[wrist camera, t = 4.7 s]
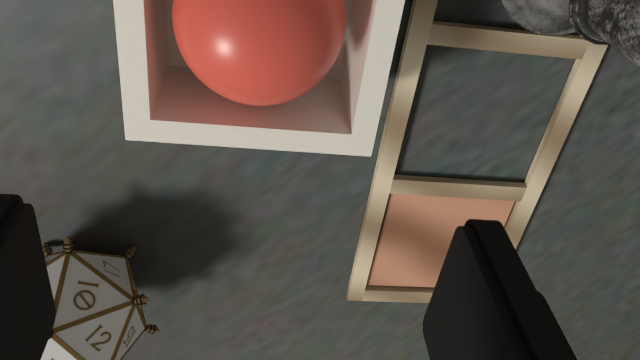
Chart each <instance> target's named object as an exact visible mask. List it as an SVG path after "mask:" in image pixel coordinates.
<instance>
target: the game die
mask: <svg viewBox="0 0 640 360" xmlns="http://www.w3.org/2000/svg"><path fill="white" fill-rule="evenodd" d="M73 243H74V241H72V240H71V239H70V238H69V237H66V239H65V240H64V241H63V249H64V250H65V251H62V252H57V253H53V254H52V252H53V251H52V249H51V246H50V245H47V244H45V243H44V245H43V253H44V254H45V255H46V257H45V262H46V267H47V271H48V276H49V280H50V285H51V289H52V294H53V299H54V303H55V309H56V315H55V322H54V326H53V329H52V332H51V334H50V337H49V339H48V342H47V344H46V347H45V350H44V352H43V355H42V357H41V360H122V359H123V357H124V356H125V355H126V354H127V352H128V351H129V350H130V348H131V347H132V346H133V345H134V343H135V342H136V341H137V340H138V338H139V337H140V336H141V335H142V333H143V332H144V331H147V332H148V333H152V334H153V333H155V332H157V331H160V330H159V329H158V328H157V327H156V325H151V324H149V325H146V321H145V318H144V314H143V310H142V307H141V305H142V304H146V302H147V300H148V299H149V298H148V297H146V296H145V295H144V294H142V295H138V293H137V289H136V285H135V282H134V278H133V275H132V271H131V267H130V264H129V258H130V257H133V255H134V254H136V253H135V252H136V246H135V247H131V248H128V250H127V251H125V252H126V253H125V255H124V256H121V255H112V254H103V253H95V252H86V251H77V250H72V249H73V247H74V245H73Z"/></svg>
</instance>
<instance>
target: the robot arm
mask: <svg viewBox="0 0 640 360" xmlns="http://www.w3.org/2000/svg"><path fill="white" fill-rule="evenodd" d="M55 315H56V309H55V303H54V299H53V294H52V289H51V285H50V280H49V276H48V271H47V267H46V262H45V257H44V253H43V248H42V244H41V239H40V234H39V230H38V225H37V221H36V216H35V212H34V208H33V206H32V205H31V204H26V203H23V200H22V198H21V197H20V196H19V195H15V194H0V360H41V357H42V355H43V352H44V350H45V347H46V344H47V342H48V339H49V337H50V334H51V332H52V329H53V326H54V322H55ZM423 334H424V339H425V342H426V346H427V350H428V353H429V357H430V360H577V359H576V357H575V355H574V353H573V351H572V349H571V347H570V345H569V343H568V341H567V340H566V338H565V336H564V334H563V332H562V330H561V328H560V326H559V324H558V322H557V320H556V318H555V317H554V315H553V313H552V311H551V309H550V307H549V305H548V303H547V301H546V300H545V298H544V297H543V295H542V294H541V293H539V292H538V291H536V289H535V287H534V285H533V283H532V281H531V279H530V277H529V275H528V273H527V271H526V269H525V267H524V265H523V263H522V261H521V259H520V257H519V256H518V254H517V252H516V250H515V248H514V246H513V244H512V242H511V240H510V238H509V236H508V234H507V232H506V230H505V228H504V226H503V225H502V223H501V222H500V221H498V220H481V219H469V220H467V221H466V223H465V225H464V226H458V227H457V228H456V230H455V232H454V235H453V238H452V240H451V243H450V246H449V249H448V252H447V254H446V257H445V260H444V263H443V266H442V268H441V271H440V274H439V277H438V280H437V282H436V285H435V288H434V291H433V294H432V297H431V299H430V302H429V305H428V308H427V311H426V313H425V316H424V320H423Z"/></svg>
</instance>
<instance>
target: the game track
mask: <svg viewBox="0 0 640 360" xmlns="http://www.w3.org/2000/svg"><path fill="white" fill-rule="evenodd" d="M437 3H438V0H413V4H412V8H411V12H410V17H409V21H408V26H407V30H406V34H405V39H404V43H403V48H402V52H401V57H400V61H399V65H398V70H397V74H396V79H395V83H394V87H393V92H392V96H391V101H390V105H389V109H388V114H387V118H386V123H385V127H384V132H383V136H382V140H381V145H380V149H379V154H378V158H377V162H376V167H375V171H374V176H373V180H372V184H371V189H370V193H369V198H368V202H367V207H366V211H365V215H364V220H363V224H362V229H361V233H360V237H359V242H358V246H357V251H356V255H355V259H354V264H353V268H352V273H351V277H350V282H349V286H348V290H347V300H352V301H383V302H414V303H429V302H430V299H431V297H432V294H433V291H434V288H435V285H436V282H437V280H438V277H439V274H440V271H441V268H442V266H443V263H444V260H445V257H446V254H447V252H448V249H449V246H450V243H451V240H452V238H453V235H454V232H455V230H456V228H457V227H458V226H464V225H465V223H466V221H467V220H469V219H481V220H498V221H500V222H501V223H502V225H503V226H505V223H506V221H507V218H508V216H509V214H510V211H511V209H512V207H513V204H514V202H515V201H516V202H515V205H514V207H513V209H512V212H511V214H510V216H509V219H508V221H507V224H506V226H505V230H506V232H507V234H508V236H509V238H510V240H511V242H512V244H513V246H514V248H515V250H516V248H517V245H518V243H519V241H520V239H521V237H522V234H523V232H524V230H525V228H526V226H527V223H528V221H529V219H530V217H531V214H532V212H533V210H534V208H535V206H536V203H537V201H538V199H539V197H540V195H541V192H542V190H543V188H544V186H545V184H546V181H547V179H548V177H549V175H550V172H551V170H552V168H553V166H554V164H555V161H556V159H557V157H558V155H559V153H560V150H561V148H562V146H563V144H564V141H565V139H566V137H567V135H568V133H569V130H570V128H571V126H572V124H573V122H574V119H575V117H576V115H577V113H578V110H579V108H580V106H581V104H582V102H583V99H584V97H585V95H586V93H587V91H588V88H589V86H590V84H591V82H592V80H593V77H594V75H595V73H596V71H597V68H598V66H599V64H600V62H601V60H602V57H603V55H604V53H605V51H606V49H607V46H608V45H597V44H593V43H591V42H588V41H586V40H584V39H583V38H582V37H581V36H577V35H567V34H562V35H556V36H554V35H544V34H537V33H535V32H532V31H528V30H519V29H509V28H499V27H490V26H480V25H470V24H460V23H451V22H441V21H433V19H434V15H435V11H436V7H437ZM427 45H438V46H448V47H458V48H469V49H479V50H489V51H500V52H510V53H520V54H531V55H541V56H551V57H562V58H572V59H576V61H575V63H574V65H573V68H572V70H571V72H570V75H569V77H568V79H567V82H566V84H565V87H564V89H563V91H562V94H561V96H560V98H559V101H558V103H557V105H556V108H555V110H554V113H553V115H552V117H551V120H550V122H549V124H548V127H547V129H546V131H545V134H544V136H543V138H542V141H541V143H540V146H539V148H538V150H537V153H536V155H535V157H534V160H533V162H532V164H531V167H530V169H529V172H528V174H527V176H526V179H525V181H524V183H519V182H504V181H488V180H472V179H457V178H441V177H425V176H409V175H394V173H395V169H396V165H397V161H398V157H399V153H400V149H401V145H402V141H403V137H404V133H405V129H406V125H407V121H408V117H409V114H410V110H411V106H412V102H413V98H414V94H415V90H416V86H417V82H418V78H419V74H420V70H421V66H422V62H423V58H424V54H425V50H426V46H427ZM389 194H390V195H389ZM388 197H389V199H388ZM387 201H388V203H387ZM386 205H387V207H386ZM385 208H386V211H385ZM384 212H385V215H384ZM383 216H384V219H383ZM382 220H383V223H382ZM381 224H382V227H381ZM380 228H381V230H380ZM379 232H380V234H379ZM378 236H379V238H378ZM377 240H378V242H377ZM376 244H377V246H376ZM375 248H376V250H375ZM374 252H375V254H374ZM373 256H374V258H373ZM372 260H373V262H372ZM371 264H372V266H371ZM370 268H371V270H370ZM369 272H370V274H369ZM368 276H369V278H368ZM367 280H368V282H367ZM366 284H368V285H366Z"/></svg>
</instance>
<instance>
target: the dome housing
mask: <svg viewBox="0 0 640 360" xmlns="http://www.w3.org/2000/svg"><path fill="white" fill-rule="evenodd" d="M172 3H173V0H113V4H114V15H115V26H116V38H117V49H118V61H119V72H120V84H121V95H122V106H123V118H124V129H125V140H134V141H149V142H164V143H179V144H193V145H208V146H223V147H238V148H252V149H267V150H282V151H297V152H311V153H326V154H341V155H356V156H370V157H371V155H372V150H373V145H374V141H375V136H376V132H377V127H378V123H379V118H380V113H381V109H382V104H383V100H384V95H385V90H386V86H387V81H388V77H389V72H390V68H391V63H392V58H393V54H394V49H395V45H396V40H397V35H398V31H399V26H400V22H401V17H402V13H403V8H404V3H405V0H344V4H345V14H346V25H345V34H344V38H343V42H342V46H341V49H340V52H339V54H338V57H337V59H336V61H335V62H334V64H333V66H332V67H331V69H330V70H329V72H328V73H327V74H326V76H325V77H324V78H323V79H322V80H321V81H320V82H319V83H318V84H317V85H316V86H315V87H314V88H312V89H311V90H310V91H308V92H307V93H305V94H303V95H302V96H300V97H297V98H295V99H293V100H291V101H288V102H285V103H281V104H277V105H269V106H253V105H246V104H242V103H238V102H235V101H232V100H229V99H227V98H225V97H223V96H221V95H219V94H217V93H216V92H214V91H213V90H211V89H210V88H208V87H207V86H206V85H205V84H204V83H202V82H201V81H200V80H199V79H198V78H197V77H196V75H195V74H194V73H193V72H192V71H191V69H190V68H189V66H188V65H187V63H186V62H185V60H184V58H183V56H182V54H181V52H180V50H179V48H178V45H177V42H176V39H175V34H174V30H173V22H172Z"/></svg>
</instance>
